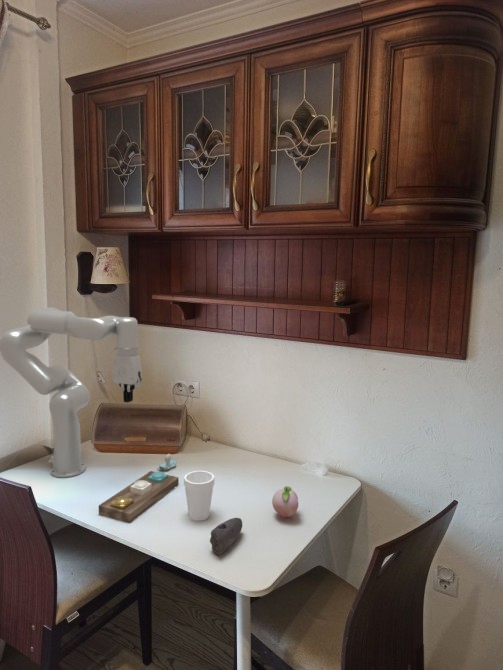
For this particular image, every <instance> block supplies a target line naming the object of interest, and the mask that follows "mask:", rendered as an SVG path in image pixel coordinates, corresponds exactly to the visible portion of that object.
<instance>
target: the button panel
mask: <svg viewBox="0 0 503 670" xmlns="http://www.w3.org/2000/svg"><path fill="white" fill-rule="evenodd" d="M154 472H155V471H154V470H153V471H147V473H145V474H144V475H142V476H141V477H140V478H138V479H136V480H135V481H134V482H132V483H130V484H129V485H127V486H126V487H124V488H123V489H121V490H120V491H119V492H117V493H115V494H114V495H112V496H111V497H109V498H108V499H106V500H105V501H103V502H102V503H100V504H98V515H100V516H104V517H107V518H110V519H114V520H117V521H120V522H125V523H127V524H128V523H129V524H130V523H132V522H134V521H135V520H136V519H137V518H139V517H140V516H141V515H142V514H143V513H145V512H147V511H148V510H149V509H150V508H151V507H153V506H154V505H155V504H156V503H158V502H159V501H161V499H163V498H164V497H165V496H167V495H168V494H169V493H170V492H172V491H173V490H175V489H176V488H177V487H179V485H180V483H179V480H180V479H179V477H178V476H175V475H170V474H168V478H167V479H166V480H164V481H163V482H161V483H157V482H152V481H148V477H149V476H151V475H152V474H153V473H154ZM140 480H144V481H147V482H148V483H152V490H150V491H149V492H148V493H146V494H145V495H144V496H141V495H137V494H133V493H130V486H132V485H133V484H134V483H135V482H137V481H140ZM175 487H176V488H175ZM119 496H127V497H129V498H131V499H133V504H131V505H130V506H128V507H127V508H126V509H124V510H122V509H118V508H115V507H111V502H113V501H114V500H115V499H116V498H117V497H119Z"/></svg>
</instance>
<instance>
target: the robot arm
mask: <svg viewBox="0 0 503 670" xmlns="http://www.w3.org/2000/svg"><path fill="white" fill-rule="evenodd" d="M26 323H27V326H22V327H21V326H20V327H17V328H12V329H9V330H7V331H6V332H4V333H3V334H2V335H1V337H0V355H1V357H2V358H3V359H2V360H4V361H5V362H6V363H7V364H8V365H9V366H10V367H11V368H12V369H13V370H15V371H16V372H17V373H18V374H19V375H20V376H21V377H22V378H23V379H24V380H25V381H26V382H27V384H29V386H31V387H32V388H33V389H34V390H35V391H36V393H38V394H40V395H43V396H46V395H50V394H53V393H54V395H52V396H51V398H50V399H49V400H50V401H49V403H48V405H49V406H48V408H49V412H50V416H51V422H52V434H53V454H54V455H51V457H50V459H48V461H47V462H48V463H49V464H52V466H51V468H50V475H51V476H53V477H56V478H70V477H71V478H72V477H77V476H79V475H81V474H83V473H84V472H85V471H86V469H87V466H86V463H84V462H82V445H81V444H82V442H81V423H80V420H79V416H78V414H77V412H78V411H79V410H81V409H83V408H84V407H86V406H87V405H88V404H89V402H90V400H91V393H90V391H89V389H88V387H87V386H86V385H85V384H84V383H83V382H82V381H81V380H80V379H79V378H78V377H77V376H76V375H75V374H74V373H73V372H72V371H71V370H70V369H69V368H68V367H65V366H63V365H59V364H55V365H52V366H47V365H46V364H44V363H43V362H42V361H41V360H40V359H39V358H38V357H37V356H36V355H34V354H33V353H30V352H28V351H27V350H28V349H29V350H30V349H33V348H35V347H38V346H41V345H42V344H43V343H45V341H47V340H48V339H49V338H50V337H51V336H52V335H53V334H57V335H65V336H66V335H67V336H70V337H73V338H76V339H83V340H94V341H96V340H97V341H99V340H104V339H106V338H107V339H108V338H110V337H114V336H115V347H114V352H115V353H116V354H115V355H114V357H113V363H112V374H111V375H112V376H111V377H112V382H114V384H115V385H118V386H119V387H120V389H121V391H122V392H123V393H122V394H123V395H122V396H123V403H130V402H133V399H134V396H133V395H134V394H133V393H134V392H133V391H135V389H136V388H140V387H142V384H141V383H142V379H143V374H142V373H143V370H142V369H143V368H142V362H141V357H140V355H139V340H138V337H139V335H138V334H139V333H138V331H139V330H138V329H139V328H138V326H139V325H138V324H139V323H138V320H137V319H136V318H135V317H133V316H131V317H130V316H129V317H127V316H123V317H121V316H116V315H104V316H100V317H97V318H96V317H95V318H94V317H93V318H92V317H81V316H77V315H76V314H75V313H74V312H73V311H67V310H60V309H59V308H57V307H52V306H51V307H44V308H37V309H34V310H32V311H31V312H30V313H29V314H28V316H27V319H26ZM55 392H56V393H55Z"/></svg>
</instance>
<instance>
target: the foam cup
mask: <svg viewBox="0 0 503 670" xmlns="http://www.w3.org/2000/svg"><path fill="white" fill-rule="evenodd" d="M183 485H184V489H185V490H184V491H185V497H186V504H187V512H188V517H189V520H192V521H196V522H202V521H205V520H207V519H208V518H209V516H210V514H211V513H210V511H211V505H212V497H213V492H214V486H215V475H214V474H213V473H212V472H210V471H206V470H194V471H190V472H188V473H186V474H185V475H184V477H183Z"/></svg>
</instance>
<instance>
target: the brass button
mask: <svg viewBox="0 0 503 670" xmlns="http://www.w3.org/2000/svg"><path fill="white" fill-rule="evenodd" d="M131 504H133V499H131V498H129V497H127V496H119V497H117V498H116V499H115V500H114V501H113V502H111V507H115V508H118V509H122V510H124V509H126V508H127V507H128V506H130V505H131Z"/></svg>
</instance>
